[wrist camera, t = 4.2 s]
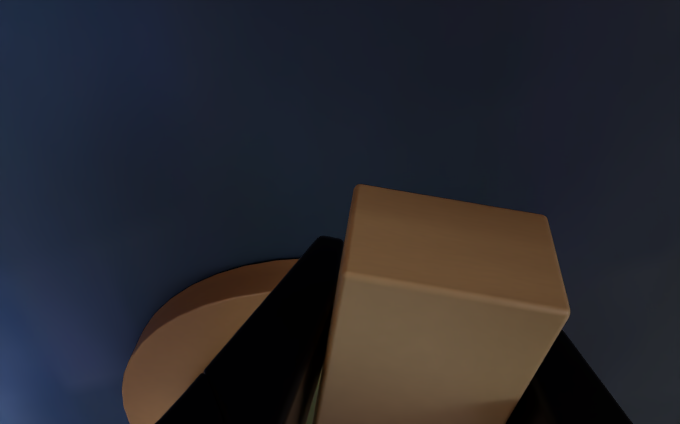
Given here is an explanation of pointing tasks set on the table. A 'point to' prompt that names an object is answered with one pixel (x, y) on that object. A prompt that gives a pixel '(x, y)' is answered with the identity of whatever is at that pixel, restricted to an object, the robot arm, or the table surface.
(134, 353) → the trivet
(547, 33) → the table surface
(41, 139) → the table surface
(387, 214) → the pot
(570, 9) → the table surface
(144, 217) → the table surface
